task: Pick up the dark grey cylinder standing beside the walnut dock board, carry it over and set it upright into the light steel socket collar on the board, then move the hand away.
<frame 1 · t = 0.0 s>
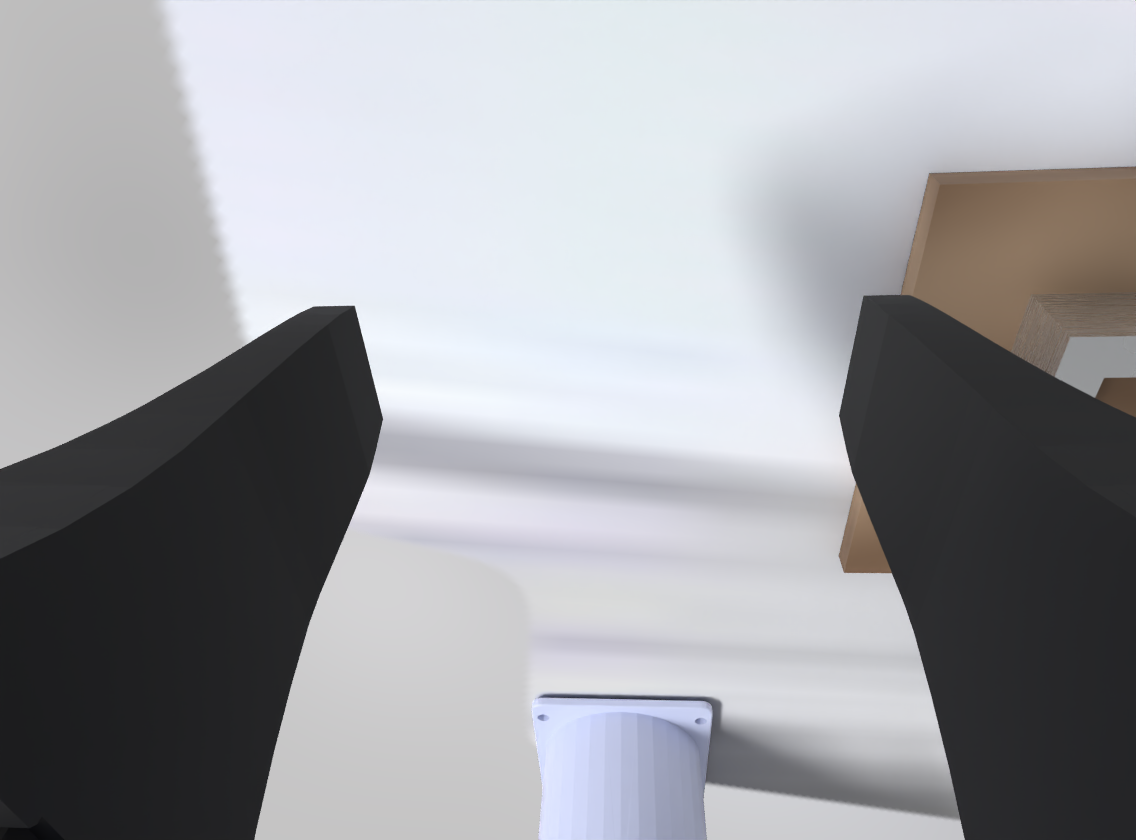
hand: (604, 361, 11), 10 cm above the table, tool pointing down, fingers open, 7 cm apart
dock board: (1115, 396, 23), on the table
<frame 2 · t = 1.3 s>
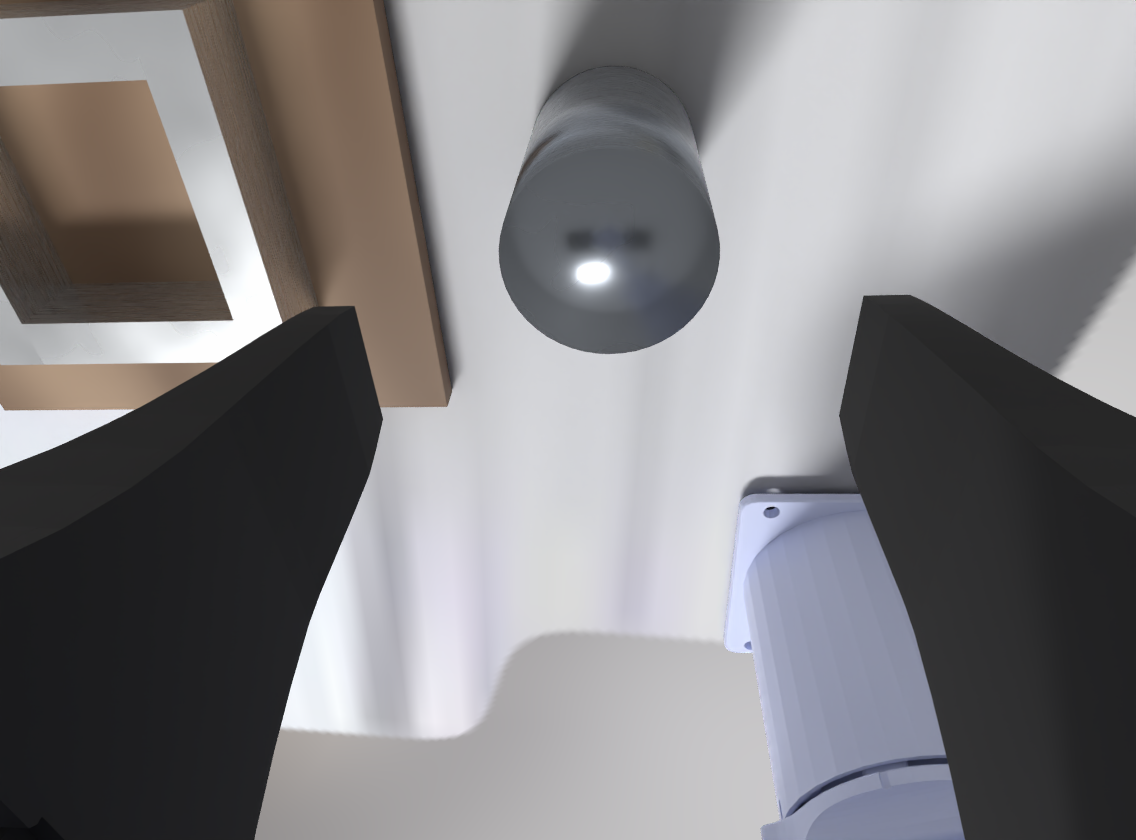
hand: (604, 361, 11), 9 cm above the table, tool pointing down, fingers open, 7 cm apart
socket collar: (104, 197, 18), on the dock board, point 1 cm above the table
dark grey cylinder: (612, 154, 18), on the table
dock board: (144, 170, 19), on the table
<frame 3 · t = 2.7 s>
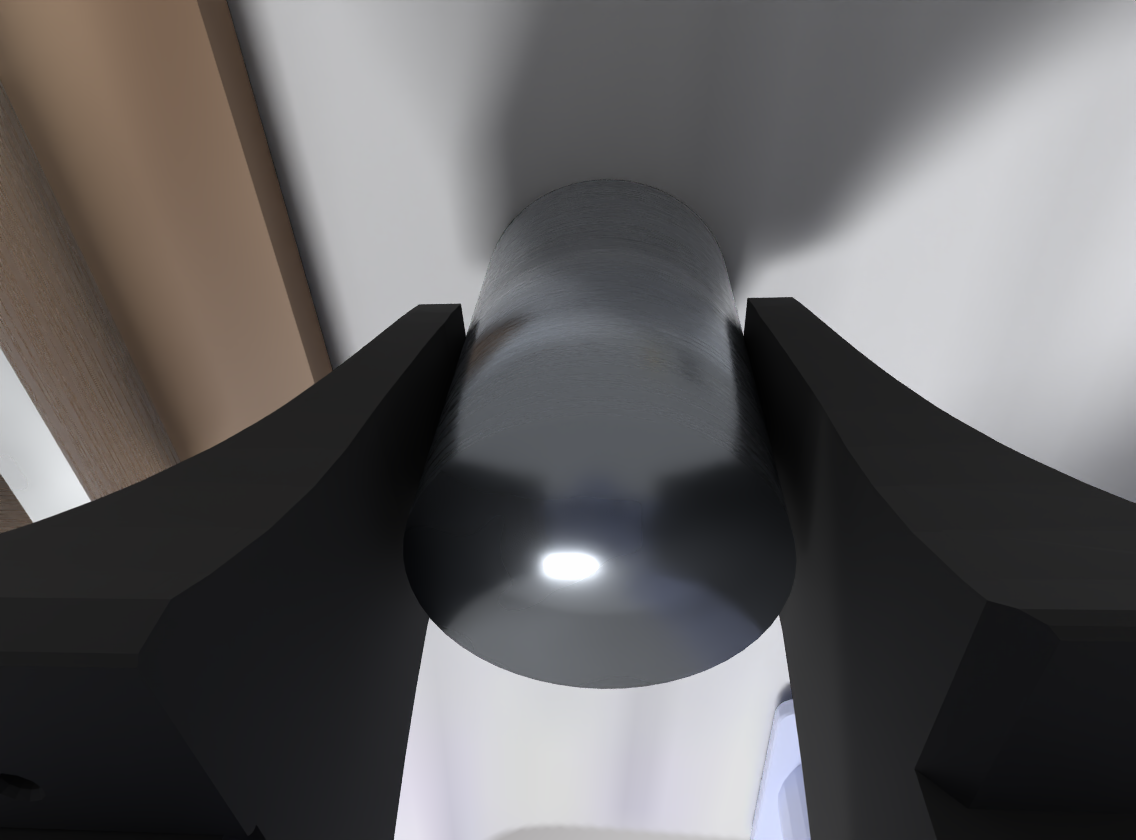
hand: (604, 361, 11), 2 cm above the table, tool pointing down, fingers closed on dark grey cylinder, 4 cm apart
dark grey cylinder: (606, 298, 13), on the table, touching gripper
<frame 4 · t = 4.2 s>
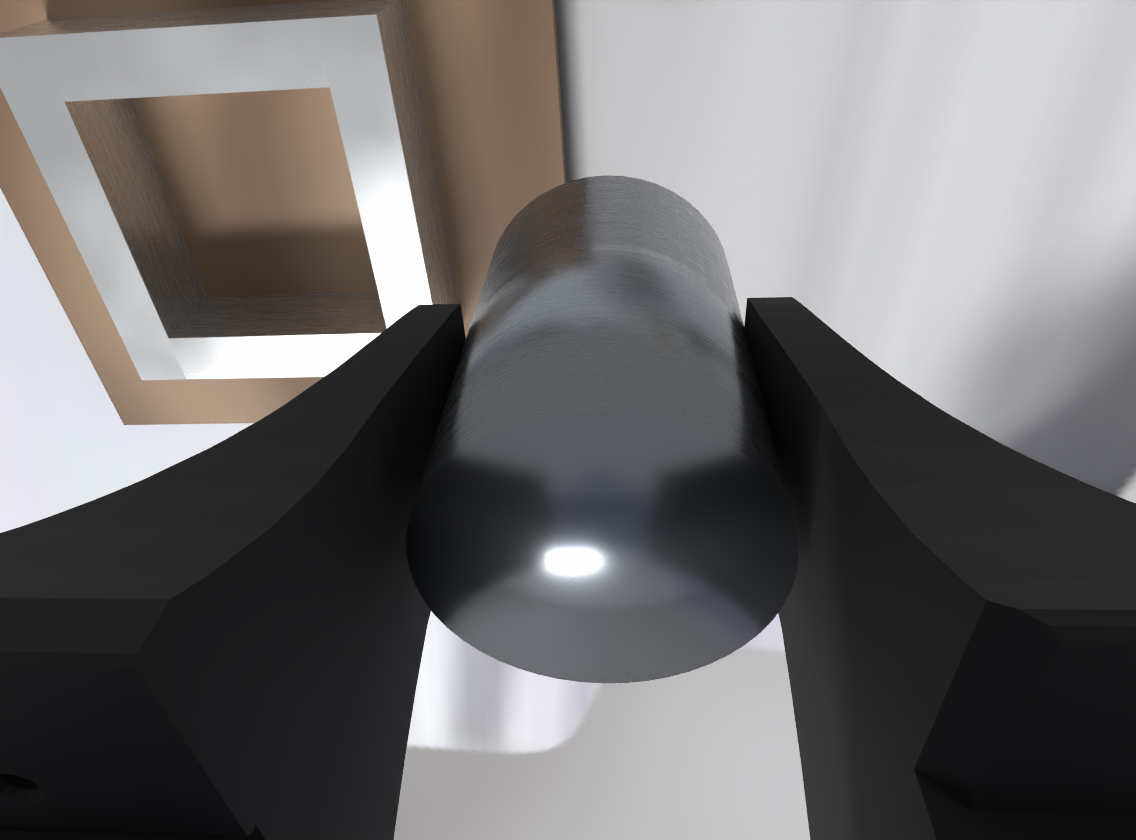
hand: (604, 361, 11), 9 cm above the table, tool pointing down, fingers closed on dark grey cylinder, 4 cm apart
socket collar: (259, 208, 17), on the dock board, point 1 cm above the table
dark grey cylinder: (607, 294, 13), point 7 cm above the table, touching gripper
dock board: (288, 179, 19), on the table
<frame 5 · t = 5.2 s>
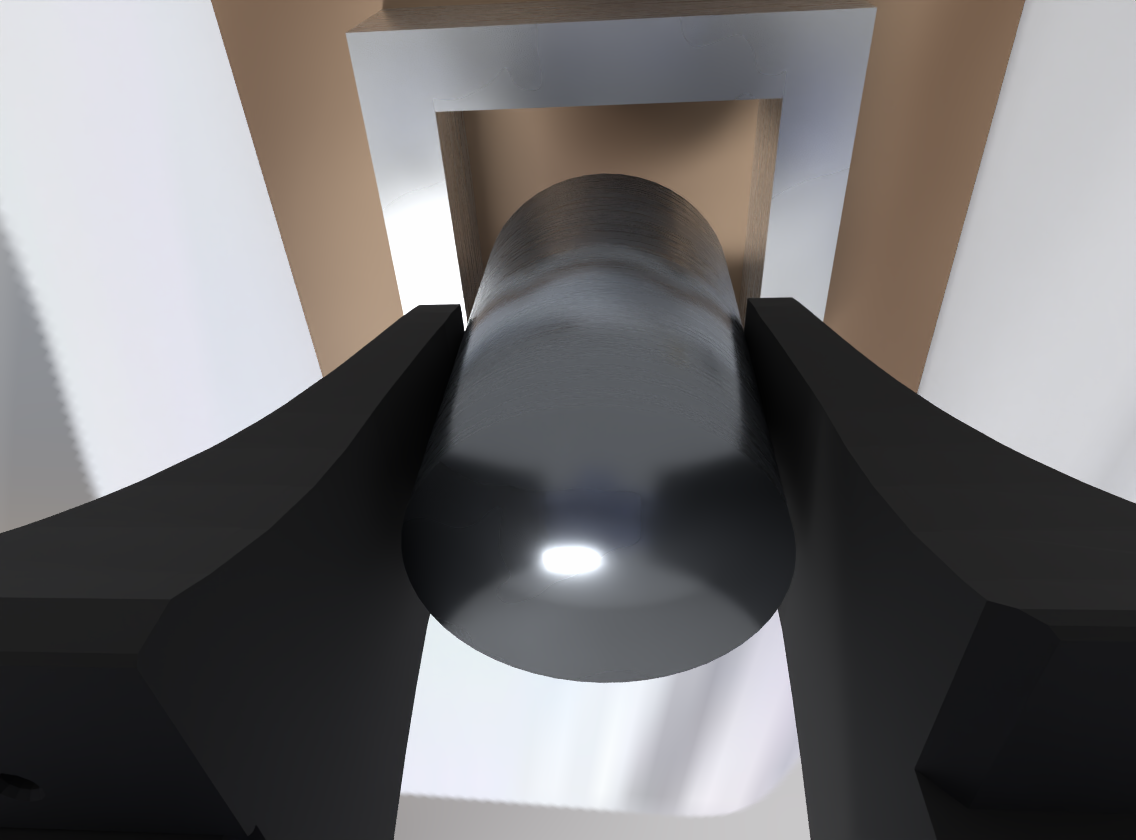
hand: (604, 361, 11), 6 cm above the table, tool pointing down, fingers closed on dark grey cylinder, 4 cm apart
socket collar: (610, 240, 14), on the dock board, point 1 cm above the table
dark grey cylinder: (605, 293, 12), point 4 cm above the table, touching gripper
dock board: (611, 203, 16), on the table
when the fingers open (4 cm above the table, at t = 5.9 s): dark grey cylinder drops 2 cm, resting on dock board.
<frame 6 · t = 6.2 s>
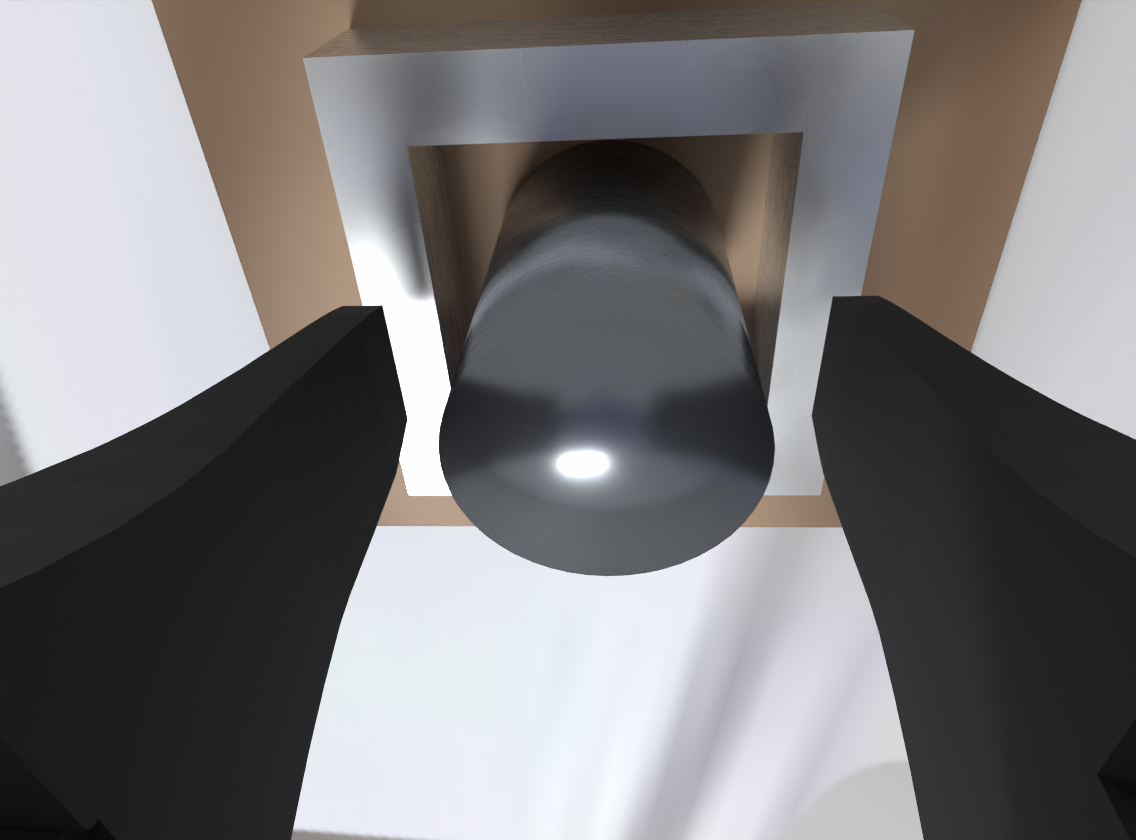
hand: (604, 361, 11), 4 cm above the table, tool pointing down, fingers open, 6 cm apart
socket collar: (606, 282, 13), on the dock board, point 1 cm above the table
dark grey cylinder: (609, 251, 14), point 1 cm above the table, touching dock board
dock board: (608, 237, 14), on the table
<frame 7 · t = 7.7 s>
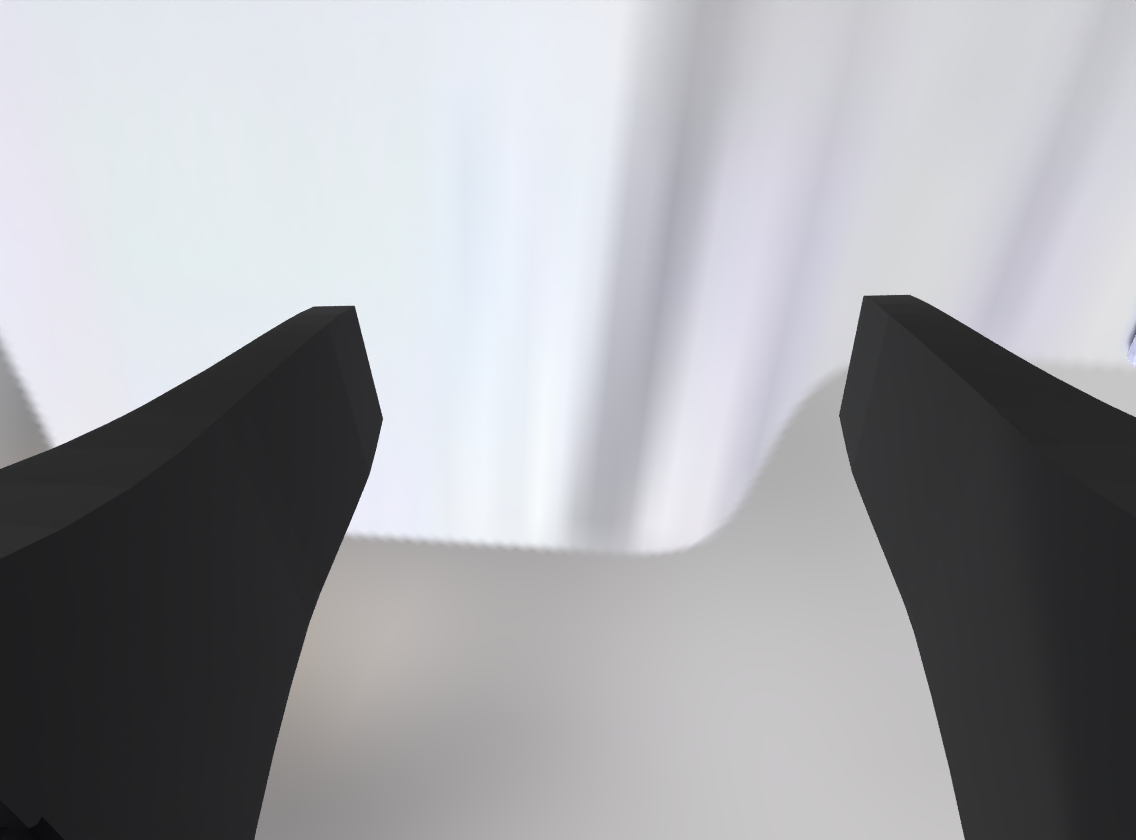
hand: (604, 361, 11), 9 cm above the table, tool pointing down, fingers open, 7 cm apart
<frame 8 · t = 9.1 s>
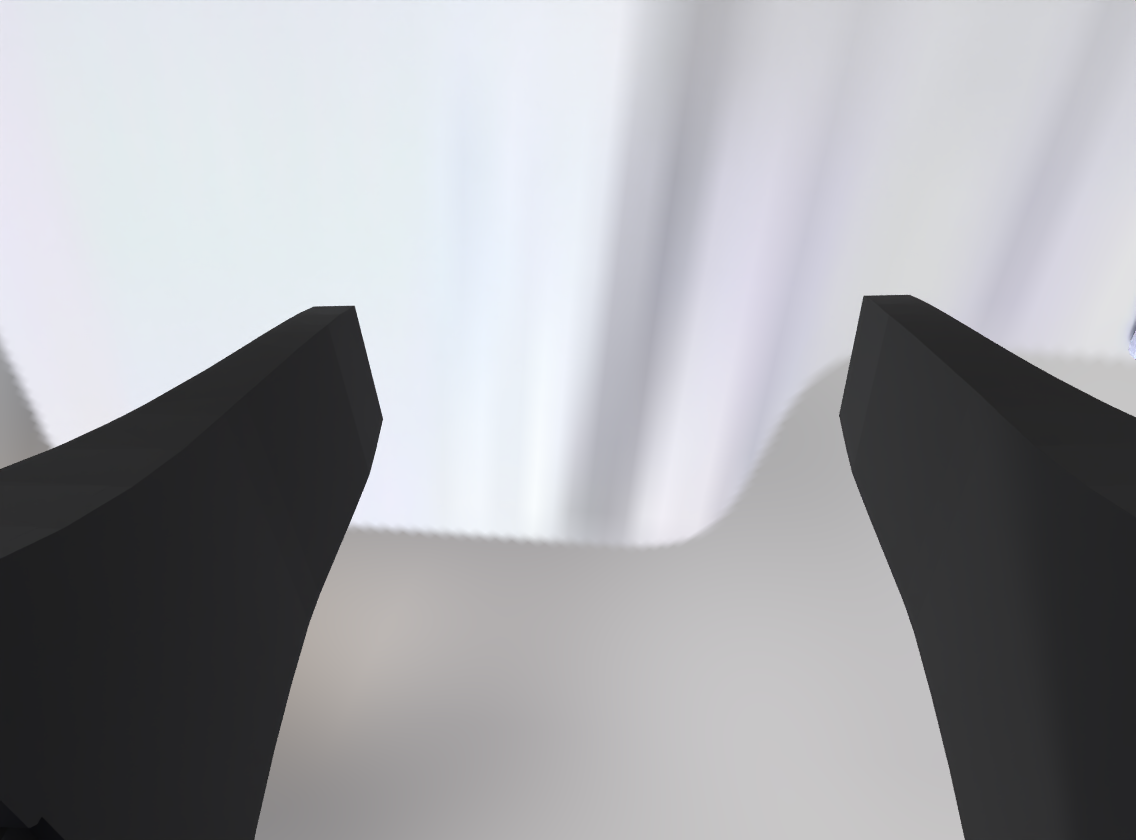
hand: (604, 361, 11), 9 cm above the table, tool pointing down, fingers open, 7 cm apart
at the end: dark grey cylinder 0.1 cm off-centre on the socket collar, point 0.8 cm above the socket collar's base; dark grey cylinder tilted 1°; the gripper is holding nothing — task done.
